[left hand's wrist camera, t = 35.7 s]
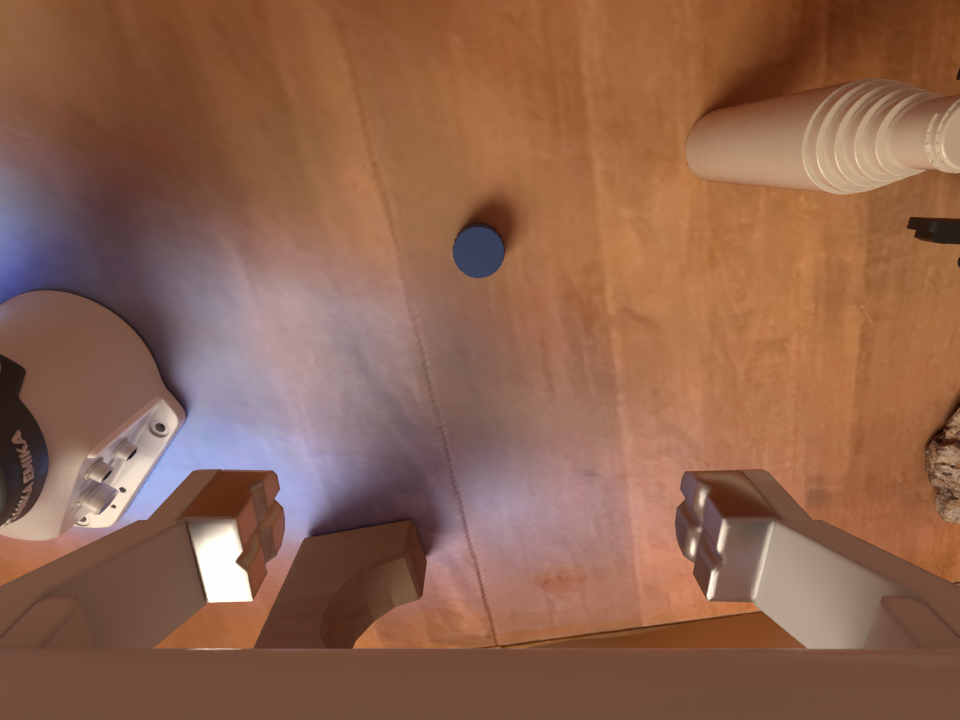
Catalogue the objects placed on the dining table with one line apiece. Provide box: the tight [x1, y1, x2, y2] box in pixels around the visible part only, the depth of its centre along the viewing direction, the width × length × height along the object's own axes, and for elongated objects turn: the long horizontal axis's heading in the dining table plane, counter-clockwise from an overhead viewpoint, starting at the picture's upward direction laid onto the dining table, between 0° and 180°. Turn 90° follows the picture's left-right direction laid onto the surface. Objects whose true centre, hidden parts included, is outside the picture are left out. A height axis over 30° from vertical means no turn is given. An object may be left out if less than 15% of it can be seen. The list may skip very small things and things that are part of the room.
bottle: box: [686, 78, 960, 194], centre depth 27 cm, size 5×5×21 cm
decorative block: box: [253, 520, 427, 649], centre depth 40 cm, size 11×6×20 cm, turn 101°
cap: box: [453, 222, 505, 278], centre depth 38 cm, size 4×4×2 cm
